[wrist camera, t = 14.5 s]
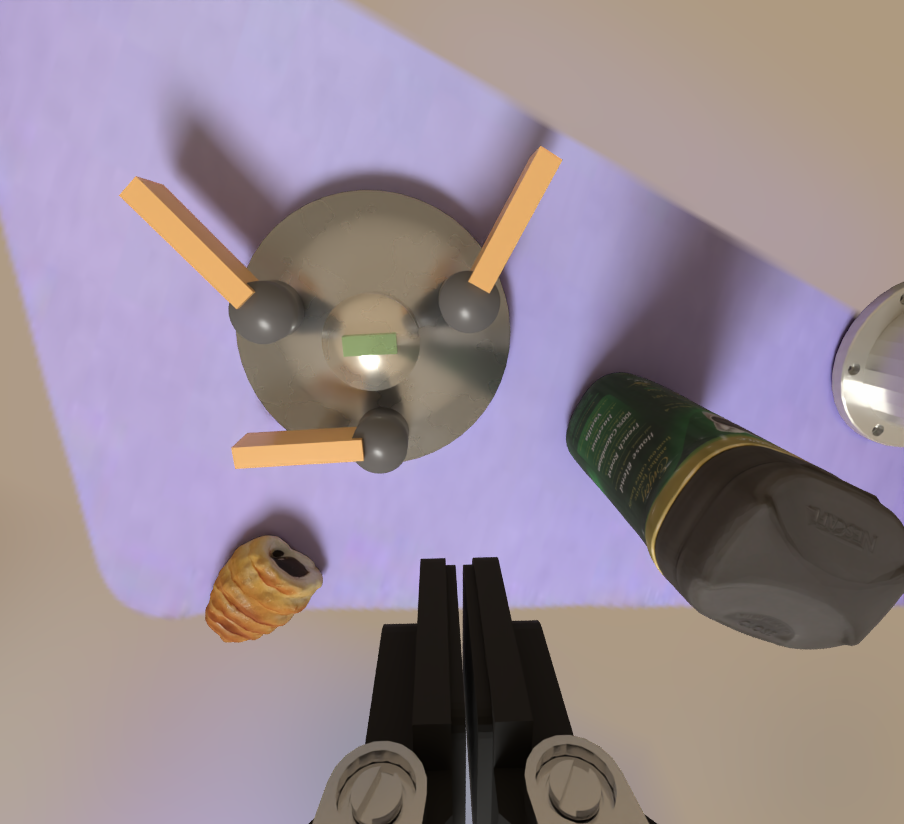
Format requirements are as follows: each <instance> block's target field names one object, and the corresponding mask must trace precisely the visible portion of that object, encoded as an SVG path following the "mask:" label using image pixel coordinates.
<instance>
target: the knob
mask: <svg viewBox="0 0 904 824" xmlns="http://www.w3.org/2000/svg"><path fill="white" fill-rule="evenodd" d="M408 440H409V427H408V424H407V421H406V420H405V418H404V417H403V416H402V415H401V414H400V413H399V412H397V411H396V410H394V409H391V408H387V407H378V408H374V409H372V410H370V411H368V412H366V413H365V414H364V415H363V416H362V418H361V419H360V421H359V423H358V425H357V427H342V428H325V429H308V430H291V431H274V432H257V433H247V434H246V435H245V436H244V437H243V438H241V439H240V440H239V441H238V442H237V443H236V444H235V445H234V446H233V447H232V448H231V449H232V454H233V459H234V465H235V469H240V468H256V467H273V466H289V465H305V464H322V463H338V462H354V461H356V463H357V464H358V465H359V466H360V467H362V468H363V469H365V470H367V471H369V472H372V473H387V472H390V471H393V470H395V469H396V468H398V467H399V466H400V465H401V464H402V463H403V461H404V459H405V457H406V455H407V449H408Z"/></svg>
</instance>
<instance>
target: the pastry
mask: <svg viewBox="0 0 904 824" xmlns="http://www.w3.org/2000/svg"><path fill="white" fill-rule="evenodd" d="M322 583H323V578H322V574H321V573H320V572H319V569H318V568H316V567H315V564H314V562H313V561H312V560H310V559H309V558H308V557H307V556H305V555H303V554H301V553H300V552H297V551H295V550H292V549H291V548H290V547H289V545H288V544H287V543H286V542H284V541H283V540H282V539H280V538H279V537H277V536H270V535H266V536H261V537H258V538H255V539H253V540H251V541H249V542H247V543H245V544H243V545H241V546H240V547H238V548H237V549H236V550H235V552H234V554H233V555H232V557H231V558H230V559H229V560H228V562H227V564H226V565H225V566H224V567H223V568H222V569H221V570H220V572H219V575H218V577H217V579H216V581H215V583H214V587H213V590H212V592H211V594H210V601H209V604H208V605H207V607H206V610H205V620H206V622H207V624H208V626H209V627H210V628H211V629H212V630H213V631H214V632H216V633H217V634H218V635H219V636H220V638H221V639H222V640H223V641H224V642H243V641H247V640H256V639H258V638H260V637H261V636H262V635H263V634H270V633H271V632H272V631H274V630H275V629H276V628H277V627H278V626H283V625H285V624H286V623H287V622H288V621H289V620H291V618H292V617H293V615H294V614H295V613H299V612H301V611H302V610H303V609H304V608H305V607H306V606H307V604H308V602H309V601H310V598H311V596H312V595H313V594H314V593H315V591H316V590H317V589H318V588H320V587H321V586H322Z"/></svg>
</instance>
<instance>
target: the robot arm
mask: <svg viewBox="0 0 904 824" xmlns="http://www.w3.org/2000/svg"><path fill="white" fill-rule="evenodd" d="M832 391H833V397H834V402H835V404H836V407H837V409H838V412H839V414H840V416H841V417H842V418H843V420H844V421H845V423H846V424H847V425H848V426H849V427H850V428H851V429H852V430H854V431H855V432H856V433H857V434H859V435H861V436H863V437H865V438H867V439H869V440H872V441H875V442H877V443H880V444H883V445H886V446H894V447H904V282H902V283H900V284H898V285H895V286H894V287H892V288H890V289H889V290H887V291H886V292H884V293H883V294H881V295H880V296H879V297H877V298H876V299H875V300H874V301H873V302H872V303H871V304H869V305H868V306H867V307H866V308H865V309H864V310H863V311H862V312H861V314H860V315H859V316H858V317H857V318H856V320H855V321H854V322H853V323H852V325H851V326H850V328H849V330H848V331H847V333H846V335H845V336H844V338H843V340H842V342H841V345H840V347H839V350H838V352H837V354H836V358H835V363H834V367H833V372H832ZM461 656H462V655H461V640H460V626H459V611H458V596H457V581H456V566H455V565H446V561H445V558H437V559H421V561H420V580H419V600H418V621H417V624H384V625H383V628H382V633H381V640H380V647H379V654H378V661H377V668H376V675H375V681H374V688H373V694H372V702H371V708H370V716H369V722H368V729H367V735H366V742H365V745H362V746H360V747H358V748H356V749H355V750H353V751H352V752H350V753H349V754H347V755H346V756H345V757H344V758H343V759H342V760H341V761H340V762H339V763H338V765H337V766H336V767H335V769H334V770H333V772H332V774H331V776H330V778H329V780H328V782H327V785H326V787H325V790H324V793H323V796H322V798H321V801H320V804H319V807H318V809H317V812H316V815H315V818H314V819H313V820H312V821H311V822H310V823H309V824H465V803H466V802H465V801H466V799H465V797H466V733H467V747H468V762H469V777H470V791H471V807H472V821H473V824H657V823H655V822H654V821H653V820H651V819H650V818H649V817H647V816H646V815H645V814H644V813H643V811H642V809H641V808H640V805H639V804H638V802H637V800H636V798H635V796H634V794H633V792H632V790H631V788H630V786H629V785H628V783H627V781H626V779H625V777H624V775H623V773H622V771H621V770H620V768H619V767H618V765H617V764H616V763H615V761H614V760H613V758H612V757H611V756H610V755H609V754H607V753H606V752H605V751H604V750H603V749H602V748H601V747H600V746H598V745H596V744H594V743H592V742H590V741H588V740H587V739H584V738H580V737H576V736H574V735H573V732H572V728H571V725H570V722H569V719H568V715H567V711H566V708H565V705H564V701H563V698H562V695H561V691H560V688H559V684H558V681H557V678H556V674H555V671H554V667H553V664H552V661H551V657H550V654H549V651H548V647H547V644H546V641H545V637H544V634H543V630H542V627H541V624H540V622H539V621H538V620H532V621H512V620H511V615H510V611H509V606H508V601H507V597H506V592H505V587H504V583H503V578H502V574H501V569H500V564H499V560H498V557H483V558H473V559H472V565H463V670H462V657H461ZM465 718H466V719H465ZM466 731H467V732H466Z"/></svg>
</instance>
